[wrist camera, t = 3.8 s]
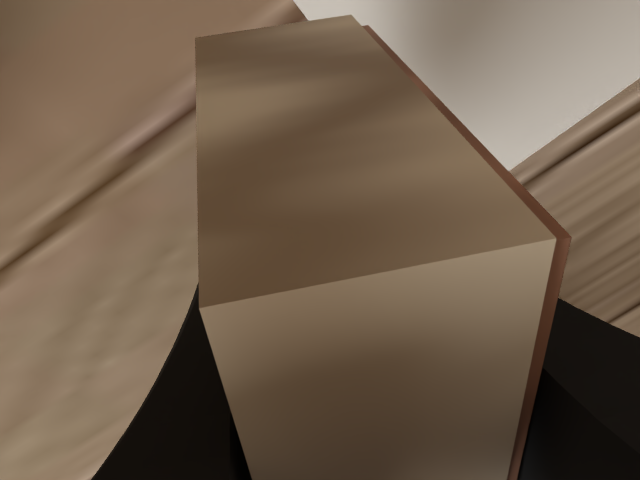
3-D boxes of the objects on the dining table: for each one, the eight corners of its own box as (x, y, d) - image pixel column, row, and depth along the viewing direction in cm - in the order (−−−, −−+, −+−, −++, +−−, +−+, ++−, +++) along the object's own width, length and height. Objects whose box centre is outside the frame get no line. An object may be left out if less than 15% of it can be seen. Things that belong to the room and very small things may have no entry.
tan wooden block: (365, 12, 11) (587, 232, 5) (378, 322, 17) (493, 618, 10) (195, 37, 11) (198, 307, 5) (264, 345, 16) (310, 665, 10)
